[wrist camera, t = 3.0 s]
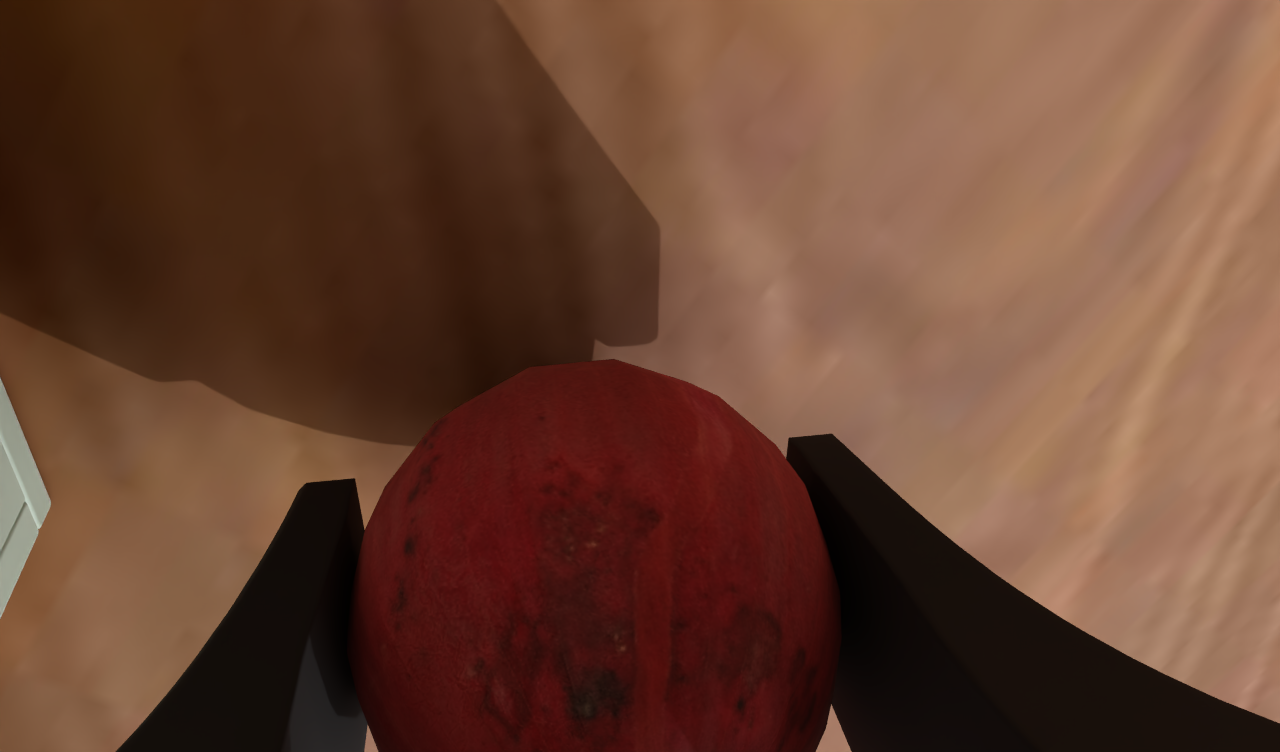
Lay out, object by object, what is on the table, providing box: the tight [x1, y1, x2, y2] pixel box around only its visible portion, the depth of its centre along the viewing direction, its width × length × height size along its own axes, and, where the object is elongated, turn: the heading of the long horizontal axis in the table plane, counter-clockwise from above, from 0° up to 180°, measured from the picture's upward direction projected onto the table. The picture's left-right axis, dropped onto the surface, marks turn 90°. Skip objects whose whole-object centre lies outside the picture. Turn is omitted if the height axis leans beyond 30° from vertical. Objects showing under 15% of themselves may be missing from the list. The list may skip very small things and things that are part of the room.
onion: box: [347, 359, 842, 752], centre depth 12 cm, size 6×6×8 cm
